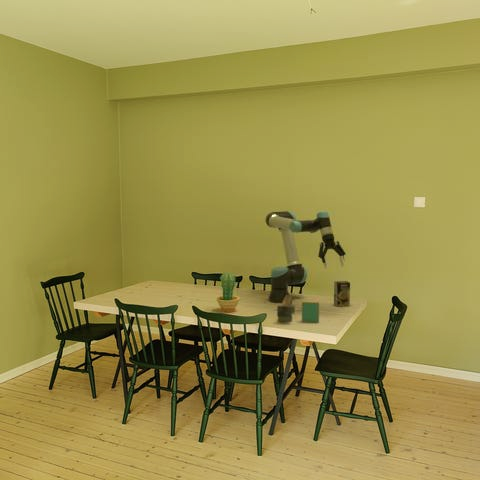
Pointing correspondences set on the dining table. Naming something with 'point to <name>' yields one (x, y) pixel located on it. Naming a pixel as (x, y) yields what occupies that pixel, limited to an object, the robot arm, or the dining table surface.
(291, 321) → the tool rack
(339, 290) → the coffee box
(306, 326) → the dining table surface
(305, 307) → the green rectangular panel
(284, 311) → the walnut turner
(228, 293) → the potted cactus
